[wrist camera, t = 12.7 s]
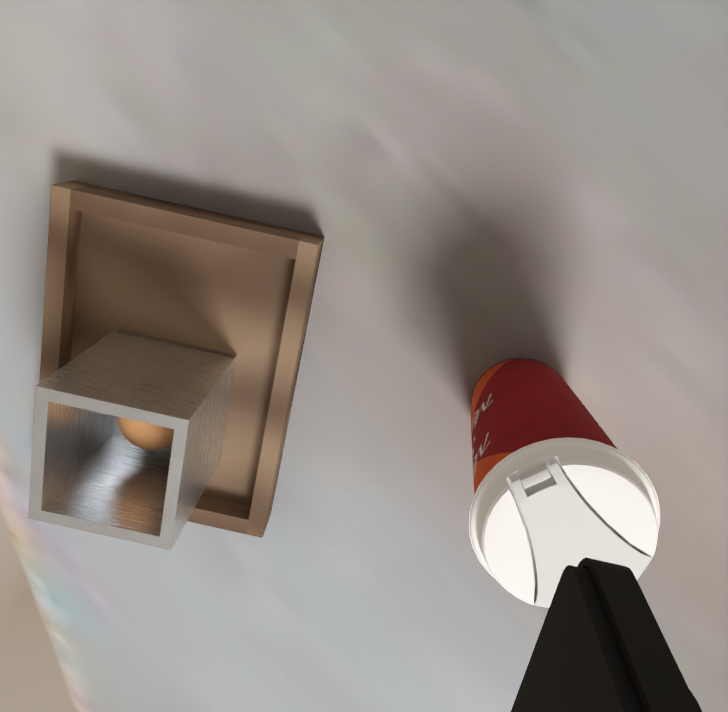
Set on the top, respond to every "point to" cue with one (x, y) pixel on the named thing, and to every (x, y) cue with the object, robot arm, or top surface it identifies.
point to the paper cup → (551, 485)
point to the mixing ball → (146, 434)
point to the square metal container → (113, 451)
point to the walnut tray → (189, 315)
